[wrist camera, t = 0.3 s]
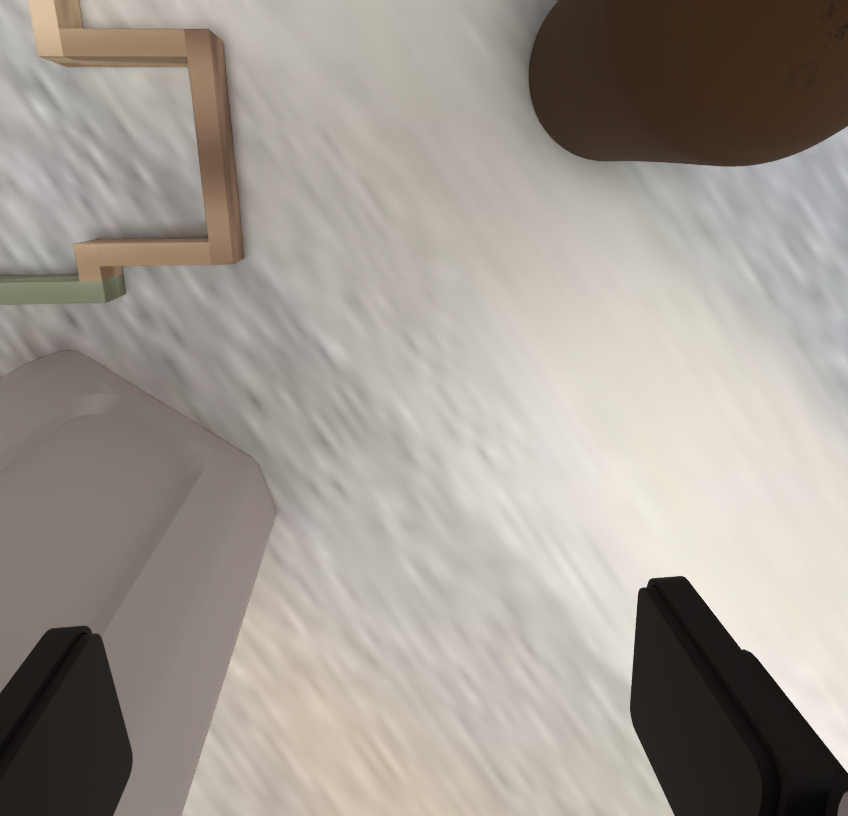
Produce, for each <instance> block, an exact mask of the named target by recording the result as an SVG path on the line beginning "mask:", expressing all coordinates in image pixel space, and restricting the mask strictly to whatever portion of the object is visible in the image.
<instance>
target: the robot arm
mask: <svg viewBox="0 0 848 816" xmlns="http://www.w3.org/2000/svg"><path fill="white" fill-rule="evenodd" d="M630 712H631V718H632V723H633V726H634V729H635V731H636V733H637V735H638V738H639V740H640V742H641V744H642V746H643V748H644V751H645V753H646V755H647V757H648V759H649V761H650V763H651V766H652V768H653V770H654V772H655V774H656V776H657V779H658V781H659V783H660V785H661V787H662V789H663V791H664V794H665V796H666V798H667V800H668V802H669V804H670V807H671V809H672V811H673V813H674V815H675V816H848V773H847V772H846V771H845V769H844V768H843V767H842V765H841V764H840V763H839V762H838V760H837V759H836V758H835V757H834V755H833V754H832V753H831V752H830V750H829V749H828V748H827V746H826V745H825V744H824V743H823V741H822V740H821V739H820V738H819V736H818V735H817V734H816V733H815V731H814V730H813V729H812V727H811V726H810V725H809V724H808V722H807V721H806V720H805V719H804V717H803V716H802V715H801V714H800V712H799V711H798V710H797V708H796V707H795V706H794V705H793V703H792V702H791V701H790V700H789V698H788V697H787V696H786V695H785V693H784V692H783V691H782V689H781V688H780V687H779V686H778V684H777V683H776V682H775V681H774V679H773V678H772V677H771V676H770V674H769V673H768V672H767V670H766V669H765V668H764V667H763V665H762V664H761V663H760V662H759V660H758V659H757V658H756V657H755V656H754V655H753V654H752V653H751V652H749V651H747V650H741V648H740V647H739V646H738V645H737V643H736V642H735V641H734V639H733V638H732V637H731V635H730V634H729V633H728V632H727V630H726V629H725V628H724V626H723V625H722V624H721V623H720V621H719V620H718V619H717V617H716V616H715V615H714V613H713V612H712V611H711V610H710V608H709V607H708V606H707V604H706V603H705V602H704V600H703V599H702V598H701V597H700V595H699V594H698V593H697V591H696V590H695V589H694V588H693V586H692V585H691V584H690V582H689V581H688V580H687V579H686V578H685V577H683V576H676V577H664V578H652V579H650V580H649V582H648V585H647V587H646V588H641V589H640V590H639V593H638V603H637V617H636V631H635V644H634V658H633V672H632V686H631V700H630ZM132 765H133V753H132V748H131V744H130V741H129V737H128V733H127V729H126V726H125V722H124V718H123V715H122V711H121V707H120V703H119V700H118V696H117V692H116V688H115V685H114V681H113V677H112V673H111V670H110V666H109V662H108V658H107V655H106V651H105V647H104V643H103V640H102V637H101V636H100V635H99V634H97V633H94V634H92V631H91V629H90V628H89V627H88V626H72V627H60V628H51V629H49V630H47V631H46V632H45V633H44V635H43V636H42V637H41V639H40V640H39V641H38V643H37V644H36V645H35V647H34V648H33V649H32V651H31V652H30V653H29V655H28V656H27V658H26V659H25V660H24V662H23V663H22V664H21V666H20V667H19V668H18V670H17V671H16V672H15V674H14V675H13V676H12V678H11V679H10V680H9V682H8V683H7V684H6V686H5V687H4V688H3V690H2V691H1V693H0V816H113V815H114V813H115V811H116V808H117V806H118V804H119V801H120V799H121V796H122V794H123V792H124V789H125V787H126V785H127V782H128V780H129V777H130V774H131V771H132Z"/></svg>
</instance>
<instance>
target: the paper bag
mask: <svg viewBox="0 0 848 816" xmlns="http://www.w3.org/2000/svg"><path fill="white" fill-rule="evenodd" d="M275 516H276V507H275V504H274V502H273V499H272V497H271V494H270V492H269V489H268V486H267V484H266V481H265V479H264V476H263V474H262V471H261V469H260V467H259V465H258V464H257V463H256V461H255V460H254V459H253V458H251V457H250V456H249V455H247V454H245V453H244V452H242V451H240V450H239V449H237V448H235V447H234V446H232V445H231V444H229V443H227V442H226V441H224V440H222V439H221V438H219V437H218V436H216V435H214V434H213V433H211V432H209V431H208V430H206V429H204V428H203V427H201V426H200V425H198V424H196V423H195V422H193V421H191V420H190V419H188V418H187V417H185V416H183V415H182V414H180V413H178V412H177V411H175V410H174V409H172V408H170V407H169V406H167V405H165V404H164V403H162V402H160V401H159V400H157V399H156V398H154V397H152V396H151V395H149V394H147V393H146V392H144V391H143V390H141V389H139V388H138V387H136V386H134V385H133V384H131V383H130V382H128V381H126V380H125V379H123V378H121V377H120V376H118V375H116V374H115V373H113V372H112V371H110V370H108V369H107V368H105V367H103V366H102V365H100V364H99V363H97V362H95V361H94V360H92V359H90V358H89V357H87V356H85V355H84V354H81V353H79V352H76V351H70V350H69V351H62V352H58V353H55V354H51V355H48V356H44V357H41V358H38V359H36V360H34V361H32V362H30V363H28V364H26V365H24V366H22V367H20V368H19V369H17V370H15V371H13V372H11V373H9V374H7V375H5V376H3V377H1V378H0V693H1V691H2V690H3V688H4V687H5V686H6V684H7V683H8V682H9V680H10V679H11V678H12V676H13V675H14V674H15V672H16V671H17V670H18V668H19V667H20V666H21V664H22V663H23V662H24V660H25V659H26V658H27V656H28V655H29V653H30V652H31V651H32V649H33V648H34V647H35V645H36V644H37V643H38V641H39V640H40V639H41V637H42V636H43V635H44V633H45V632H46V631H47V630H49V629H51V628H60V627H72V626H88V627H89V628H90V629H91V631H92V634H94V633H97V634H99V635H100V636H101V637H102V640H103V643H104V647H105V651H106V655H107V658H108V662H109V666H110V670H111V673H112V677H113V681H114V685H115V688H116V692H117V696H118V700H119V703H120V707H121V711H122V715H123V718H124V722H125V726H126V729H127V733H128V737H129V741H130V744H131V748H132V753H133V765H132V771H131V774H130V777H129V780H128V782H127V785H126V787H125V789H124V792H123V794H122V796H121V799H120V801H119V804H118V806H117V808H116V811H115V813H114V815H113V816H181V815H182V812H183V809H184V806H185V803H186V799H187V796H188V793H189V790H190V787H191V783H192V780H193V777H194V774H195V771H196V768H197V764H198V761H199V758H200V755H201V752H202V748H203V745H204V742H205V739H206V736H207V733H208V729H209V726H210V723H211V720H212V717H213V714H214V710H215V707H216V704H217V701H218V698H219V694H220V691H221V688H222V685H223V682H224V679H225V675H226V672H227V669H228V666H229V663H230V659H231V656H232V653H233V650H234V647H235V644H236V640H237V637H238V634H239V631H240V628H241V624H242V621H243V618H244V615H245V612H246V609H247V605H248V602H249V599H250V596H251V593H252V589H253V586H254V583H255V580H256V577H257V574H258V570H259V567H260V564H261V561H262V558H263V555H264V551H265V548H266V545H267V542H268V539H269V535H270V532H271V529H272V526H273V523H274V520H275Z"/></svg>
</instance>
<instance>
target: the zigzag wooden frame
mask: <svg viewBox="0 0 848 816" xmlns="http://www.w3.org/2000/svg"><path fill="white" fill-rule="evenodd" d="M28 3H29V9H30V14H31V20H32V25H33V30H34V36H35V41H36V47H37V52H38V56H39V57H42V58H45V59H47V60H50V61H53V62H55V63H58V64H61V65H64V66H72V67H188V68H189V76H190V85H191V94H192V102H193V111H194V120H195V128H196V137H197V146H198V154H199V163H200V171H201V180H202V189H203V197H204V206H205V215H206V223H207V232H208V238H160V239H95V240H90V241H85V242H80V243H75V244H73V248H74V253H75V259H76V264H77V269H78V274H74V275H12V276H0V305H13V304H66V303H106V302H109V301H111V300H113V299H116V298H118V297H120V296H122V295H125V294H126V291H125V285H124V279H123V272H122V266H148V265H213V264H235V263H236V262H238V261H240V260H242V259H244V251H243V241H242V231H241V221H240V211H239V201H238V191H237V180H236V170H235V160H234V150H233V140H232V130H231V120H230V109H229V99H228V89H227V79H226V69H225V59H224V49H223V42H222V41H221V40H220V39H219V38H218V37H217V36H216V35H215V34H213V33H212V32H211V31H210V30H209V29H83V25H82V18H81V12H80V6H79V0H28Z"/></svg>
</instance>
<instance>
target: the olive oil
mask: <svg viewBox="0 0 848 816" xmlns="http://www.w3.org/2000/svg"><path fill="white" fill-rule="evenodd" d="M529 84H530V92H531V98H532V102H533V105H534V108H535V111H536V113H537V116H538V118H539V120H540V122H541V123H542V125H543V127H544V128H545V130H546V131H547V132H548V134H549V135H550V136H551V137H552V138H553V139H554V140H555V141H556V142H557V143H558V144H559V145H561V146H562V147H563V148H565V149H566V150H568V151H569V152H571V153H573V154H575V155H577V156H580V157H583V158H586V159H591V160H597V161H648V162H668V163H683V164H697V165H710V166H749V165H756V164H762V163H767V162H772V161H775V160H779V159H782V158H785V157H788V156H791V155H794V154H796V153H799V152H801V151H804V150H806V149H808V148H810V147H812V146H814V145H816V144H818V143H820V142H822V141H824V140H825V139H827V138H829V137H831V136H832V135H834V134H836V133H837V132H839V131H841V130H842V129H844V128H845V127H847V126H848V0H559V1H558V2H557V3H556V4H555V6H554V7H553V8H552V10H551V11H550V12H549V14H548V15H547V17H546V19H545V20H544V22H543V24H542V26H541V28H540V30H539V32H538V34H537V37H536V40H535V42H534V46H533V50H532V54H531V59H530V68H529Z"/></svg>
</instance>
